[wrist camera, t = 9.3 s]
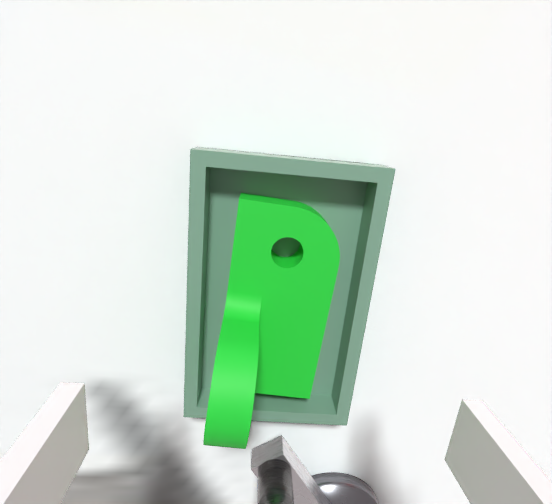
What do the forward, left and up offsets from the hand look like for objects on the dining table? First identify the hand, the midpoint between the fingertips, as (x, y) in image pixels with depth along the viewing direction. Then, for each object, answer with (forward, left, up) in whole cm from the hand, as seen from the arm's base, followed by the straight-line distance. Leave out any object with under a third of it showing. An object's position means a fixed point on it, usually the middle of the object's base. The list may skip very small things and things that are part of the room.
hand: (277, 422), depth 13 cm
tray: (0, 0, -12) cm, 12 cm away
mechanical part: (0, 0, -11) cm, 11 cm away
